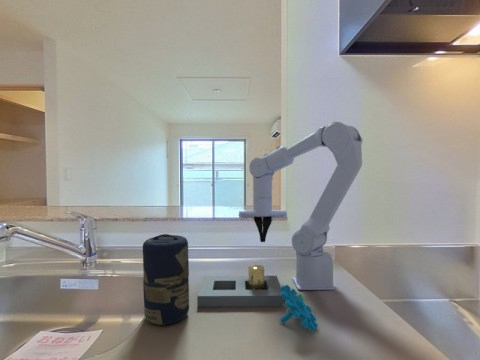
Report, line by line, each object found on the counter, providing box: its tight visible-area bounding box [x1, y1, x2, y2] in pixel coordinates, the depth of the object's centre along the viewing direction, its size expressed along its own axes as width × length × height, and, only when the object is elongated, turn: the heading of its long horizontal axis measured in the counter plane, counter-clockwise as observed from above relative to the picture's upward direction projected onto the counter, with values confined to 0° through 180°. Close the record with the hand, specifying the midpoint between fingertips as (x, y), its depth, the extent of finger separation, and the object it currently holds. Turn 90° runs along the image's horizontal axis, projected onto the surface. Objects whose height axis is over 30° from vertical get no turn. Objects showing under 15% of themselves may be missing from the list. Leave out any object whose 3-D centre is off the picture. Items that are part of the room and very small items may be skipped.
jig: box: [196, 275, 285, 308], centre depth 71 cm, size 20×12×2 cm, turn 90°
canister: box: [142, 233, 190, 326], centre depth 60 cm, size 10×10×18 cm
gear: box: [279, 284, 319, 332], centre depth 58 cm, size 11×6×10 cm
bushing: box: [247, 264, 265, 290], centre depth 71 cm, size 4×4×7 cm
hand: (262, 241), depth 86 cm, fingers closed
